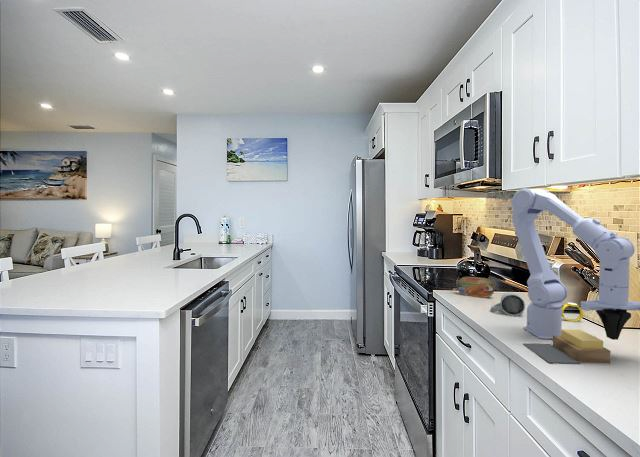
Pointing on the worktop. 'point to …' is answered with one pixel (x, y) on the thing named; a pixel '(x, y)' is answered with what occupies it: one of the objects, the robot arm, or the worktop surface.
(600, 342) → the yellow sponge
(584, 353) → the block
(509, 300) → the ceramic mug
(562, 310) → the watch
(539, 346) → the mat
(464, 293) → the tin
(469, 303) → the worktop surface
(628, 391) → the worktop surface
